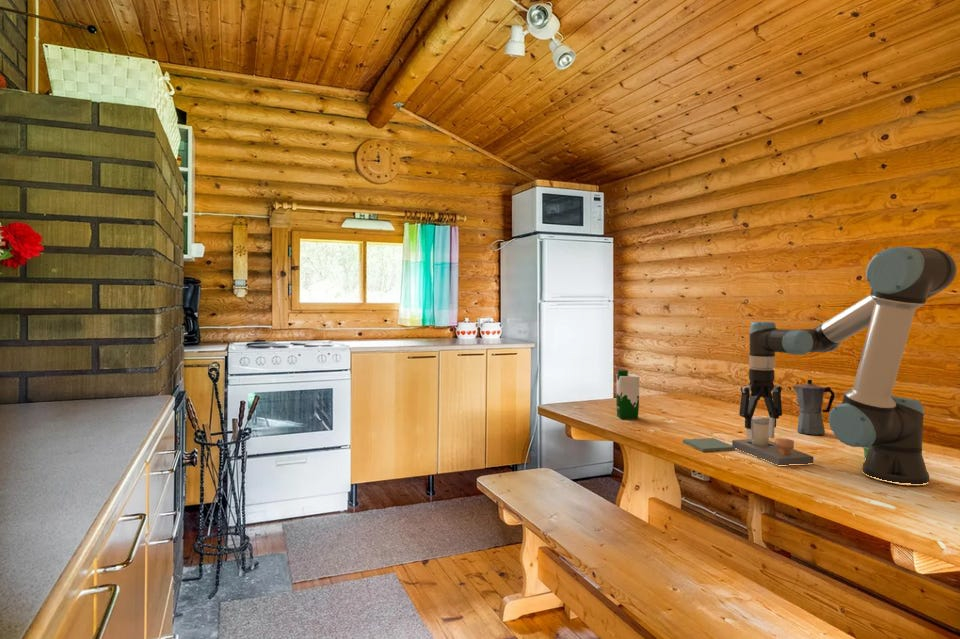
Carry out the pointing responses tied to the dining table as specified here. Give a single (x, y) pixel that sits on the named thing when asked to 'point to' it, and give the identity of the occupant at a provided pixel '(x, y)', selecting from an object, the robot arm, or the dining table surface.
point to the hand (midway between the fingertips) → (760, 437)
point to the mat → (708, 444)
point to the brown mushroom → (784, 446)
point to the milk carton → (627, 395)
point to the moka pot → (812, 407)
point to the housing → (772, 453)
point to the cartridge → (761, 431)
